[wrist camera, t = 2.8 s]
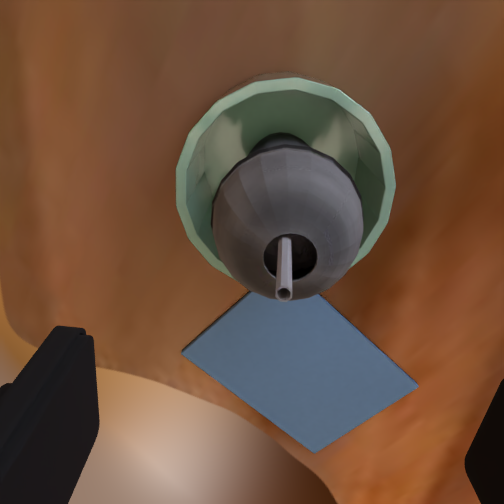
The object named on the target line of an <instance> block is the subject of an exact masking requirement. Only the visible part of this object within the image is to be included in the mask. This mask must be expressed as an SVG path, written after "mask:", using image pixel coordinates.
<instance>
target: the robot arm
mask: <svg viewBox="0 0 504 504" xmlns="http://www.w3.org/2000/svg"><path fill="white" fill-rule="evenodd" d="M98 430H99V408H98V394H97V382H96V367H95V353H94V340H93V337H92V336H90V335H86V331H85V329H83V328H76V327H66V326H56V327H55V328H54V329H53V330H52V331H51V333H50V334H49V335H48V337H47V338H46V339H45V341H44V342H43V343H42V344H41V346H40V347H39V348H38V350H37V351H36V352H35V354H34V355H33V357H32V358H31V359H30V360H29V362H28V363H27V364H26V366H25V367H24V368H23V370H22V371H21V372H20V373H19V375H18V376H17V377H16V379H15V380H14V381H13V383H6V384H5V385H3V386H1V387H0V504H68V502H69V500H70V498H71V496H72V493H73V491H74V488H75V486H76V484H77V482H78V479H79V477H80V474H81V472H82V470H83V468H84V465H85V463H86V461H87V459H88V456H89V454H90V452H91V449H92V447H93V445H94V442H95V440H96V437H97V434H98ZM465 470H466V473H467V476H468V478H469V480H470V482H471V484H472V486H473V488H474V490H475V492H476V494H477V496H478V498H479V500H480V502H481V504H504V379H503V380H502V381H501V383H500V385H499V387H498V390H497V392H496V394H495V396H494V398H493V400H492V402H491V404H490V406H489V408H488V410H487V413H486V415H485V417H484V419H483V421H482V423H481V425H480V427H479V429H478V431H477V433H476V436H475V438H474V440H473V442H472V444H471V446H470V448H469V450H468V452H467V454H466V457H465Z"/></svg>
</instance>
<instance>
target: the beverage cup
mask: <svg viewBox="0 0 504 504" xmlns="http://www.w3.org/2000/svg"><path fill="white" fill-rule="evenodd" d="M363 220H364V217H363V208H362V199H361V194H360V192H359V190H358V188H357V186H356V184H355V182H354V180H353V178H352V176H351V174H350V173H349V172H348V171H347V170H346V169H345V168H344V167H343V166H341V165H340V164H339V163H338V162H337V161H336V160H335V159H334V158H333V157H331V156H329V155H327V154H324V153H322V152H320V151H318V150H316V149H314V148H312V147H310V146H309V145H308V144H307V143H305V142H304V141H303V140H302V139H301V138H299V137H297V136H295V135H292V134H290V133H283V132H278V133H273V134H269V135H268V136H266V137H264V138H262V139H261V140H260V141H259V142H258V143H257V144H256V145H255V146H254V147H253V148H252V150H251V151H250V152H249V154H248V155H247V157H245V158H244V159H242V160H240V161H238V162H237V163H236V164H235V165H234V166H233V168H232V169H231V170H230V171H229V172H228V173H227V174H226V175H225V177H224V178H223V179H222V180H221V182H220V184H219V187H218V189H217V191H216V194H215V196H214V199H213V201H212V212H211V227H212V232H213V236H214V240H215V244H216V247H217V251H218V254H219V258H220V259H221V261H222V262H223V263H224V265H225V266H226V268H227V269H228V271H229V272H230V274H231V275H232V277H233V278H234V279H236V280H237V281H238V282H239V283H241V284H242V285H243V286H244V287H246V288H247V289H248V290H249V291H252V292H254V293H257V294H259V295H262V296H264V297H267V298H269V299H276V300H279V301H280V302H287V301H293V300H299V299H305V298H310V297H312V296H314V295H317V294H319V293H321V292H323V291H325V290H327V289H329V288H330V287H331V286H332V285H334V284H335V283H336V282H337V281H338V280H339V279H341V278H342V277H343V276H344V275H345V274H346V272H347V271H348V269H349V268H350V266H351V264H352V263H353V261H354V260H355V258H356V256H357V254H358V252H359V247H360V243H361V239H362V235H363V227H364V226H363Z"/></svg>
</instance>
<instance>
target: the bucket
mask: <svg viewBox="0 0 504 504" xmlns="http://www.w3.org/2000/svg"><path fill="white" fill-rule="evenodd" d="M278 132H283V133H290V134H292V135H295V136H297V137H299V138H301V139H302V140H303V141H304V142H305V143H307V144H308V145H309V146H310V147H312V148H314V149H316V150H318V151H320V152H322V153H324V154H327V155H329V156H331V157H333V158H334V159H335V160H336V161H337V162H338V163H339V164H340V165H341V166H343V167H344V168H345V169H346V170H347V171H348V172H349V173H350V174H351V176H352V178H353V180H354V182H355V184H356V186H357V188H358V190H359V192H360V194H361V199H362V208H363V217H364V220H363V226H364V227H363V235H362V239H361V243H360V247H359V252H358V254H357V256H356V258H355V260H354V261H353V263H352V264H351V266H350V268H351V267H352V266H353V265H354V264H356V263H357V262H358V261H359V260H361V259H362V258H363V257H364V256H366V255H367V254H368V253H369V251H370V250H371V248H372V247H373V245H374V244H375V242H376V240H377V239H378V237H379V236H380V234H381V233H382V231H383V230H384V228H385V226H386V225H387V222H388V219H389V215H390V211H391V206H392V202H393V198H394V193H395V189H396V182H395V175H394V168H393V161H392V154H391V149H390V146H389V144H388V143H387V141H386V139H385V138H384V136H383V134H382V132H381V131H380V129H379V127H378V125H377V124H376V122H375V120H374V119H373V117H372V115H371V114H370V113H369V112H368V111H367V110H365V109H364V108H363V107H361V106H360V105H359V104H357V103H356V102H355V101H354V100H352V99H351V98H350V97H348V96H347V95H346V94H344V93H343V92H342V91H341V90H339V89H337V88H336V87H334V86H332V85H330V84H328V83H326V82H324V81H322V80H320V79H316V78H312V77H309V76H306V75H301V74H298V73H294V72H289V71H288V72H279V73H269V74H261V75H258V76H257V75H256V76H254V77H252V78H251V79H249V80H247V81H245V82H243V83H241V84H239V85H237V86H235V87H233V88H231V89H230V90H229V91H227V92H226V93H225V94H224V95H223V96H222V97H221V98H220V99H218V100H217V101H216V102H215V103H214V104H213V105H212V107H211V108H210V109H209V110H208V111H207V112H206V113H205V115H204V116H203V117H202V118H201V119H200V120H199V121H198V123H197V124H196V125H195V126H194V127H193V128H192V129H191V130H190V132H189V134H188V136H187V139H186V142H185V144H184V147H183V150H182V152H181V155H180V158H179V161H178V163H177V166H176V207H177V210H178V213H179V215H180V218H181V221H182V223H183V226H184V229H185V231H186V234H187V236H188V239H189V240H190V241H191V242H192V244H193V245H194V246H195V247H196V248H197V249H198V251H199V252H200V253H201V254H202V255H203V257H204V258H205V259H206V260H207V261H208V262H209V264H210V265H211V266H213V267H215V268H216V269H218V270H220V271H221V272H223V273H224V274H226V275H228V276H229V277H231V278H233V277H232V275H231V274H230V272H229V271H228V269H227V268H226V266H225V265H224V263H223V262H222V261H221V259H220V258H219V254H218V251H217V247H216V244H215V240H214V236H213V232H212V227H211V212H212V201H213V199H214V196H215V194H216V191H217V189H218V187H219V184H220V182H221V180H222V179H223V178H224V177H225V175H226V174H227V173H228V172H229V171H230V170H231V169H232V168H233V166H234V165H235V164H236V163H237V162H238V161H240V160H242V159H244V158H245V157H247V155H248V154H249V152H250V151H251V150H252V148H253V147H254V146H255V145H256V144H257V143H258V142H259V141H260V140H261V139H262V138H264V137H266V136H268V135H269V134H273V133H278ZM233 279H234V278H233ZM234 280H236V279H234ZM236 281H237V280H236Z"/></svg>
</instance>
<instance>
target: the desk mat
mask: <svg viewBox="0 0 504 504" xmlns="http://www.w3.org/2000/svg"><path fill="white" fill-rule="evenodd" d="M181 354H182V355H183V356H184V357H186V358H187V359H188V360H190V361H191V362H192V363H194V364H195V365H196V366H198V367H199V368H201V369H202V370H203V371H205V372H206V373H207V374H209V375H210V376H211V377H213V378H214V379H215V380H217V381H218V382H219V383H221V384H222V385H223V386H225V387H226V388H227V389H229V390H230V391H231V392H233V393H234V394H235V395H237V396H238V397H239V398H241V399H242V400H243V401H245V402H246V403H247V404H249V405H250V406H251V407H253V408H254V409H255V410H257V411H258V412H259V413H261V414H262V415H263V416H265V417H266V418H267V419H269V420H270V421H271V422H273V423H274V424H275V425H277V426H278V427H279V428H281V429H282V430H283V431H285V432H286V433H287V434H289V435H290V436H291V437H293V438H294V439H295V440H297V441H298V442H299V443H301V444H302V445H303V446H305V447H306V448H307V449H309V450H310V451H311V452H313V453H316V452H318V451H319V450H321V449H322V448H324V447H326V446H327V445H329V444H330V443H332V442H333V441H335V440H336V439H338V438H340V437H341V436H343V435H344V434H346V433H347V432H349V431H351V430H352V429H354V428H355V427H357V426H358V425H360V424H361V423H363V422H365V421H366V420H368V419H369V418H371V417H372V416H374V415H376V414H377V413H379V412H380V411H382V410H383V409H385V408H386V407H388V406H390V405H391V404H393V403H394V402H396V401H397V400H399V399H401V398H402V397H404V396H405V395H407V394H408V393H410V392H412V391H413V390H415V389H416V388H418V384H417V383H416V382H415V381H414V380H413V379H412V378H411V377H409V376H408V375H407V374H406V373H405V372H404V371H403V370H402V369H401V368H400V367H398V366H397V365H396V364H395V363H394V362H393V361H392V360H391V359H390V358H389V357H387V356H386V355H385V354H384V353H383V352H382V351H381V350H380V349H379V348H378V347H376V346H375V345H374V344H373V343H372V342H371V341H370V340H369V339H368V338H367V337H365V336H364V335H363V334H362V333H361V332H360V331H359V330H358V329H357V328H356V327H354V326H353V325H352V324H351V323H350V322H349V321H348V320H347V319H346V318H345V317H343V316H342V315H341V314H340V313H339V312H338V311H337V310H336V309H335V308H333V307H332V306H331V305H330V304H329V303H328V302H327V301H326V300H325V299H324V298H322V297H321V296H320V295H319V294H317V295H314V296H312V297H310V298H305V299H299V300H293V301H287V302H280V301H279V300H276V299H269V298H267V297H264V296H262V295H259V294H257V293H254V292H252V291H249V292H248V293H247V294H246V295H245V296H244V297H243V298H241V299H240V300H239V301H238V302H237V303H236V304H235V305H233V306H232V307H231V308H230V309H229V310H228V311H227V312H225V313H224V314H223V315H222V316H221V317H220V318H219V319H217V320H216V321H215V322H214V323H213V324H212V325H211V326H209V327H208V328H207V329H206V330H205V331H204V332H203V333H201V334H200V335H199V336H198V337H197V338H196V339H195V340H193V341H192V342H191V343H190V344H189V345H188V346H187V347H185V348H184V349H183V350H182V352H181Z"/></svg>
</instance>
